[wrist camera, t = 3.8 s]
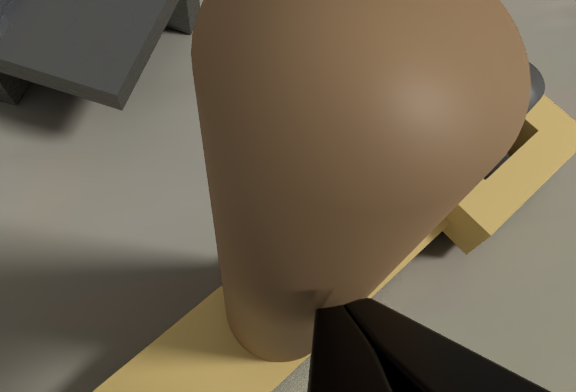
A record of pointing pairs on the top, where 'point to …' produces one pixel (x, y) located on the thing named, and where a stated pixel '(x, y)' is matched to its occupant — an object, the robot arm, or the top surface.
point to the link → (343, 166)
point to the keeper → (84, 44)
